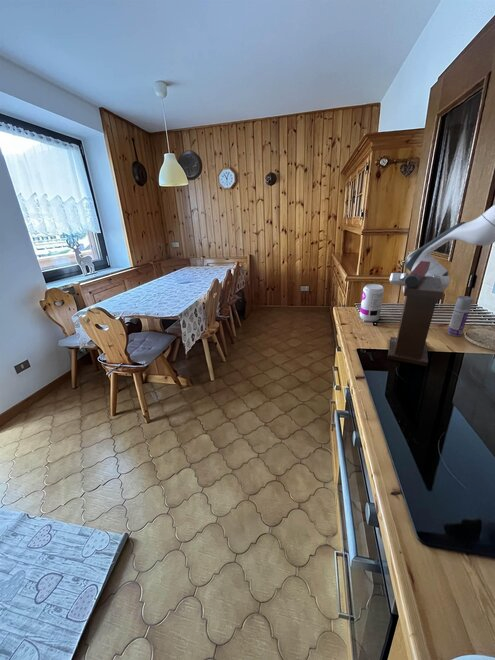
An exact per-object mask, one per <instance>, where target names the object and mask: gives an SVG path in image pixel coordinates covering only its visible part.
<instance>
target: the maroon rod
mask: <svg viewBox="0 0 495 660" xmlns="http://www.w3.org/2000/svg"><path fill="white" fill-rule="evenodd" d="M429 266H430V262H428V261H420V263H419V264H418V265H417V266H416V267H415V269H414V270H413V271H412V272H411V271H410V273H409V276H408V277H407V278H406V280H405V284H406V286H408V287H411V288H412V287H415V286H417V285H418V284H419V283H420V281H421V280H422V278H423V277H424V276H425V274H426V273H427V271H428V270H429Z"/></svg>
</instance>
